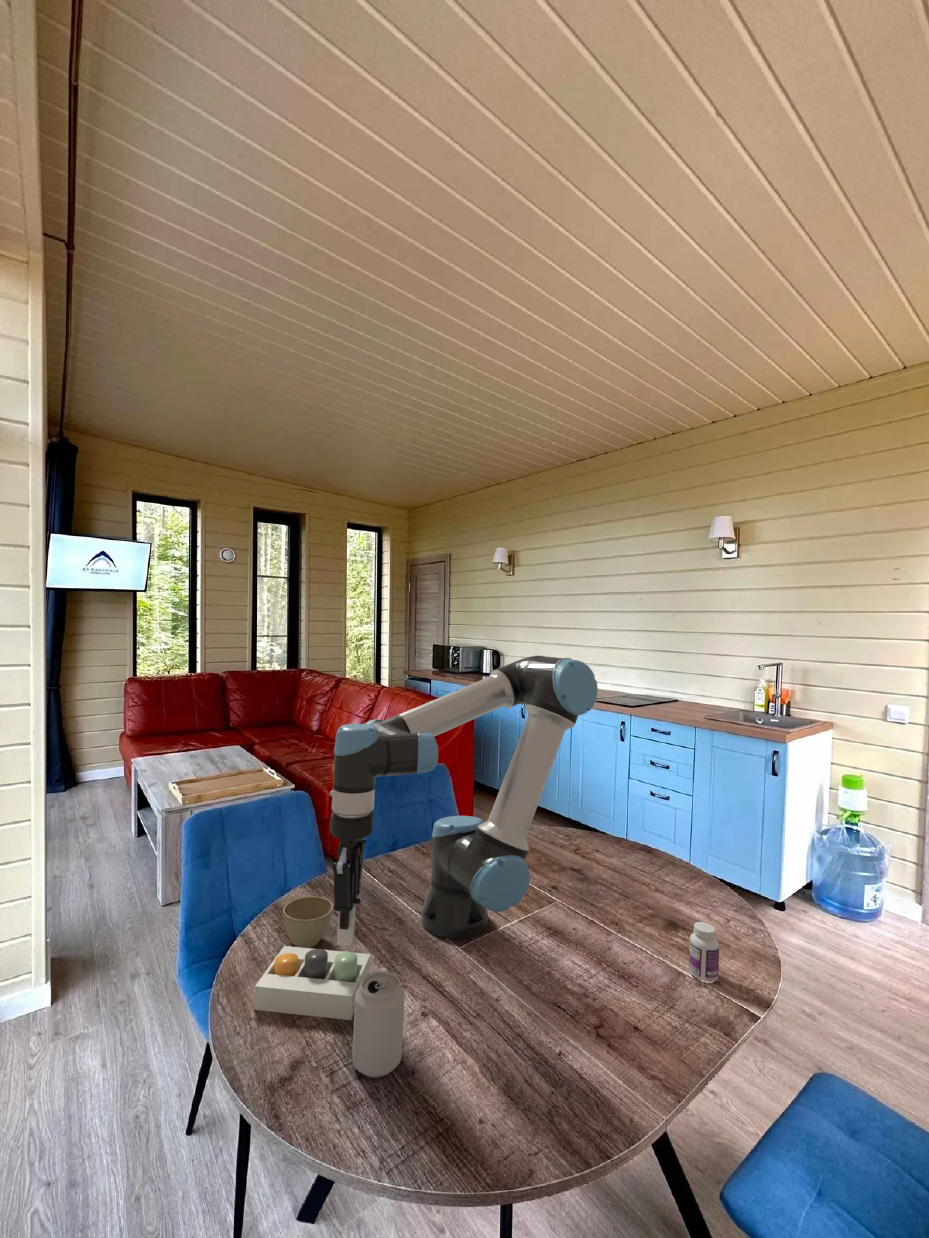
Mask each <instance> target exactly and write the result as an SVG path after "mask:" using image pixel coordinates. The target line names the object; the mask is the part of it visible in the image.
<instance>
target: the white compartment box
mask: <svg viewBox="0 0 929 1238" xmlns="http://www.w3.org/2000/svg"><path fill="white" fill-rule="evenodd" d="M314 949H315V948H301V947H296V946H289V945H288V946H287V945H284V946H283V947H282V948H281V949H280V951H279V952H278V954H277V955H276V957H275V958H274V959H273V961H272V962H271V964H269V966H268V968H267V969H266V970H265V971H264V973H263V974H262V976H261V977H260V979H259V980H258V981H257V983H256V984H255V987H254V1001H253V1003H254V1004H253V1010H254V1011H260V1012H261V1011H262V1012H268V1013H270V1012H271V1013H279V1014H280V1013H281V1014H288V1015H289V1014H290V1015H299V1016H307V1017H317V1018H326V1019H335V1020H344V1021H352V1019H353V1017H354V1011H355V994H356V991H357V989H358V988H359V987H360V983H361V981H362V979H363V978H364V977H366V976H367V975H369V974H371V973H370V969H371V968H370V967H371V954H370V953H363V952H362V953H361V952H354V953H355V954H356V955H357V978H356V982H355V983H354V982H344V981H334V964H335V957H336V956H337V955H338V954H340V953H342V952H343V951H341V950H332V949H331V950H329V949H324V950H325V951H327V953H328V961H327V976H326V978H325V980H324V979H314V978H305V977H304V967H305V955H306V953H307V952H309V951H311V950H314ZM285 953H293V954H296V955H297V956H298V971H297V973H296V974H295V976H285V975H275V974H274V973H275V960H276V958H277V957H278V956H280V955H282V954H285Z"/></svg>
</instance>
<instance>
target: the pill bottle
mask: <svg viewBox="0 0 929 1238" xmlns="http://www.w3.org/2000/svg"><path fill="white" fill-rule="evenodd" d="M716 935H717V930H716V928H715V926H713V925H712V924H710V923H707V922H704V921H698V922H695V923H694V924H693V932H692V933H691V934H690V937H689V954H688V955H689V960H688V961H689V962H688V963H689V964H688V971H690V972H689V974H690V973H691V974H692V975H694V976H695V977H696V978H698V979H700V980H704V981H707V982H713V981H715V980H717V979H718V980H719V972H720V970H719V969H720V966H719V965H720V963H719V962H720V943H719V941H718V939H717V938H716ZM691 974H690V975H691ZM718 980H717V981H718Z"/></svg>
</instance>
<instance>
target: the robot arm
mask: <svg viewBox="0 0 929 1238" xmlns="http://www.w3.org/2000/svg"><path fill="white" fill-rule="evenodd" d="M598 689H599V687H598V681H597V679H596V676H595V674H594V672H593V670H592V669H591V667H590V666H589V665H588V664H587V663H585V662H583V661H581V660H577V659H572V658H570V657H555V656H546V655H531V656H527V657H524V658H523V657H522V659H518V660H515V661H513V662H511V663H509V664H505V665H503V666H500V667H498V668H496V669H493V670H492V671H491V672H490V674H489V676H488V677H486V678H484V679H481V680H478V681H476V682H474V683H471V684H469V685H467V686H464V687H461V688H459V689H456V690H455V691H453V692H451V693H447V694H444V695H443V696H440V697H438V698H436V699H433V700H430V701H428V702H426V703H424V704H423V703H422V704H421V705H419V706H417V707H414V708H412V709H408V710H406V711H405V712H403V713H400V714H397V715H394V716H391V717H389V718H387V719H385V720H384V719H371V720H367V722H365V723H348V724H344V725H343V724H342V725H341V726H340V727H338V728H337V731H336V734H335V743H334V748H333V749H334V750H333V754H334V755H333V784H332V790H331V791H330V792H329V796H330V797H332V798H331V799H332V800H331V810H332V812H331V813H330V826H329V827H330V828H329V831H330V834H331V836H332V837H334V838H337V839H338V841H339V843H338V844H339V845H337V846H336V847H337V848H336V857H337V862H336V861H334V862H333V863H332V866H331V868H332V872H333V894H334V895H333V897H334V899H333V900H334V905H333V910H334V912H337V930H336V946H345V947H346V946H347V947H352V946H353V943H354V941H355V927H356V926H355V925H356V923H355V922H356V908H357V906H356V905H360V904H361V900H362V899H361V898H358V896H360V893H361V882H362V881H361V880H362V873H363V866H364V865H363V864H364V863H363V862H364V854H365V847H366V843H367V839H366V838H367V837H369V836H370V835H371V834H372V833H373V826H374V825H373V824H374V812H373V810H374V809H375V792H376V790H375V789H376V788H375V787H376V778H377V777H392V776H402V775H403V776H404V775H419V774H423V773H428V772H429V773H430V772H431V771H433V770H434V769H435V768H436V766H437V763H438V761H439V748H438V747H439V746H438V742H437V739H436V738H435V737H436V736H439V735H441V734H443V733H446V732H448V731H450V730H453V729H455V728H457V727H459V726H462V725H463V724H465V723H468V722H471V721H472V720H475V719H478V718H479V717H481V716H483V715H485V714H489V713H490V712H493V711H495V710H497V709H499V708H504V709H510V708H512V707H514V706H518V705H523V704H524V707H525V708H524V709H525V710H526V713H527V719H526V721H525V724H524V727H523V729H522V732H521V734H520V737H519V740H518V742H517V745H516V747H515V749H514V752H513V755H512V758H511V760H510V762H509V764H508V765H509V766H508V769H507V771H506V772H505V775H504V778H503V780H502V783H501V784H500V788H499V791H498V793H497V796H496V799H495V800H494V804H493V806H492V808H491V812H490V813H489V817H488V819H487V820H486V821H483V819H482V818H480V817H476V816H472V815H471V816H469V815H451V816H446V817H442V818H440V819H437V820H436V821H435V822H434V824H433V828H432V834H431V839H432V840H431V841H432V842H431V843H432V844H431V864H430V865H431V867H430V868H431V869H430V886H429V889H428V891H427V894H426V896H425V900H424V902H423V905H422V907H421V918H420V919H421V924H422V926H423V928H424V929H426V931H427V932H429V933H431V934H432V935H434V936H437V937H439V938H445V939H454V940H458V939H459V940H460V939H462V940H463V939H469V938H472V937H476V936H478V935H479V934H481V933H482V932H484V931H485V930H486V928H487V926H488V920H489V919H488V918H489V917H488V916H489V914H488V911H490V912H495V913H496V912H497V913H498V912H499V913H500V912H501V913H502V912H505V911H507V910H510V908H511V907H515V906H516V905H517V904H518V903H519V902H520V901H521V900H522V899H523V898H524V896H525V895H526V893H527V891H528V889H529V887H530V883H531V882H530V881H531V873H530V868H529V865H528V864H527V862H526V859H527V856H528V854H529V851H530V847H529V844H528V842H527V838H526V837H527V835H528V832H529V829H530V827H531V824H532V821H533V819H534V816H535V813H536V811H537V808H538V805H539V804H540V803H539V802H540V800H541V797H542V795H543V791H544V789H545V788H546V787H545V786H546V784H547V780H548V778H549V775H550V772H551V770H552V767H553V764H554V762H555V760H556V756H557V754H558V751H559V749H560V747H561V744H562V743H561V742H562V740H563V737H564V735H565V732H566V731H567V730H569V729H572V728H574V727H575V726H576V723H577V720H578V719H579V718H578V717H579V716H583V715H585V714H587V713H588V712H590V711H591V710H592V709H593V708H594V706H595V704H596V702H597V698H598V693H599V692H598V691H599V690H598Z"/></svg>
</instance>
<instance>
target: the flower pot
mask: <svg viewBox="0 0 929 1238" xmlns="http://www.w3.org/2000/svg"><path fill="white" fill-rule="evenodd" d="M333 907H334V905H333V902H332V901H331V900H329V899H327V898H325V897H322V896H310V895H309V896H303V897H299V898H295V899H293V900H291V901H289V902H287V904H285V905H284V907H283V910H282V911H283V912H282V913H283V914H282V915H283V920H284V921H283V922H284V925H285V929H286V932H287V934H288V937H289V939H290V940H291V942H292V944H293V946H294V947H301V948H311V949H313V948H314V947H315V946H317V945H318V944H319V942H320V941H321V940H322V938H323V936H324V935H325V932H326V931H327V929H328V927H329V924H330V922H331V918H332V915H333V910H334V908H333Z"/></svg>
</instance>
